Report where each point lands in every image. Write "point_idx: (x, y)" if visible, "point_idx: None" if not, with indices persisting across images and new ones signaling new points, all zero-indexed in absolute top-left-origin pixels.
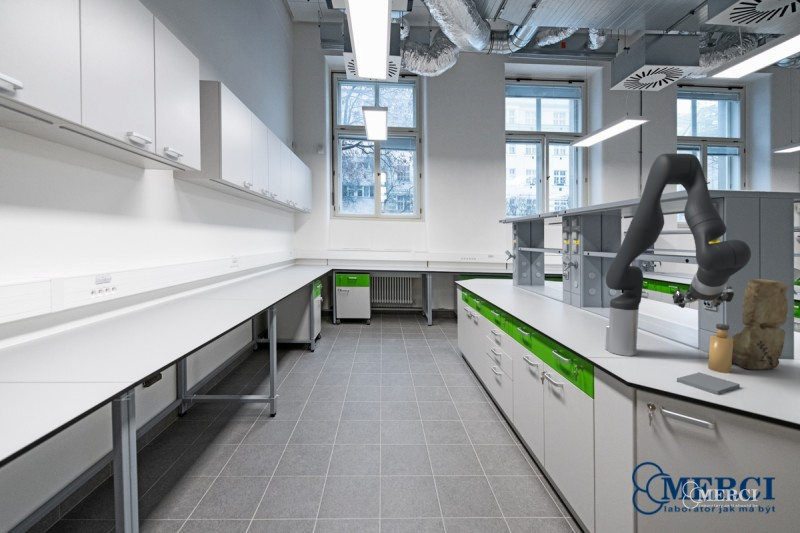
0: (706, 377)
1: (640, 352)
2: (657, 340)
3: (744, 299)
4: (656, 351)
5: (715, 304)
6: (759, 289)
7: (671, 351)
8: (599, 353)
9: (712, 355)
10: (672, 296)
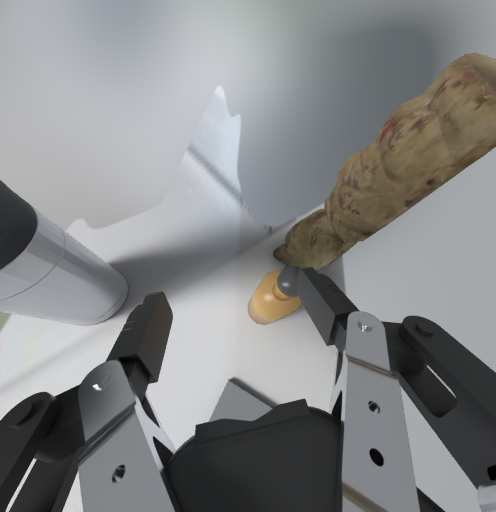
0: (238, 418)
1: (142, 272)
2: (189, 182)
3: (374, 166)
4: (175, 248)
5: (311, 317)
6: (483, 155)
7: (201, 235)
8: (27, 340)
9: (257, 314)
10: (2, 418)
